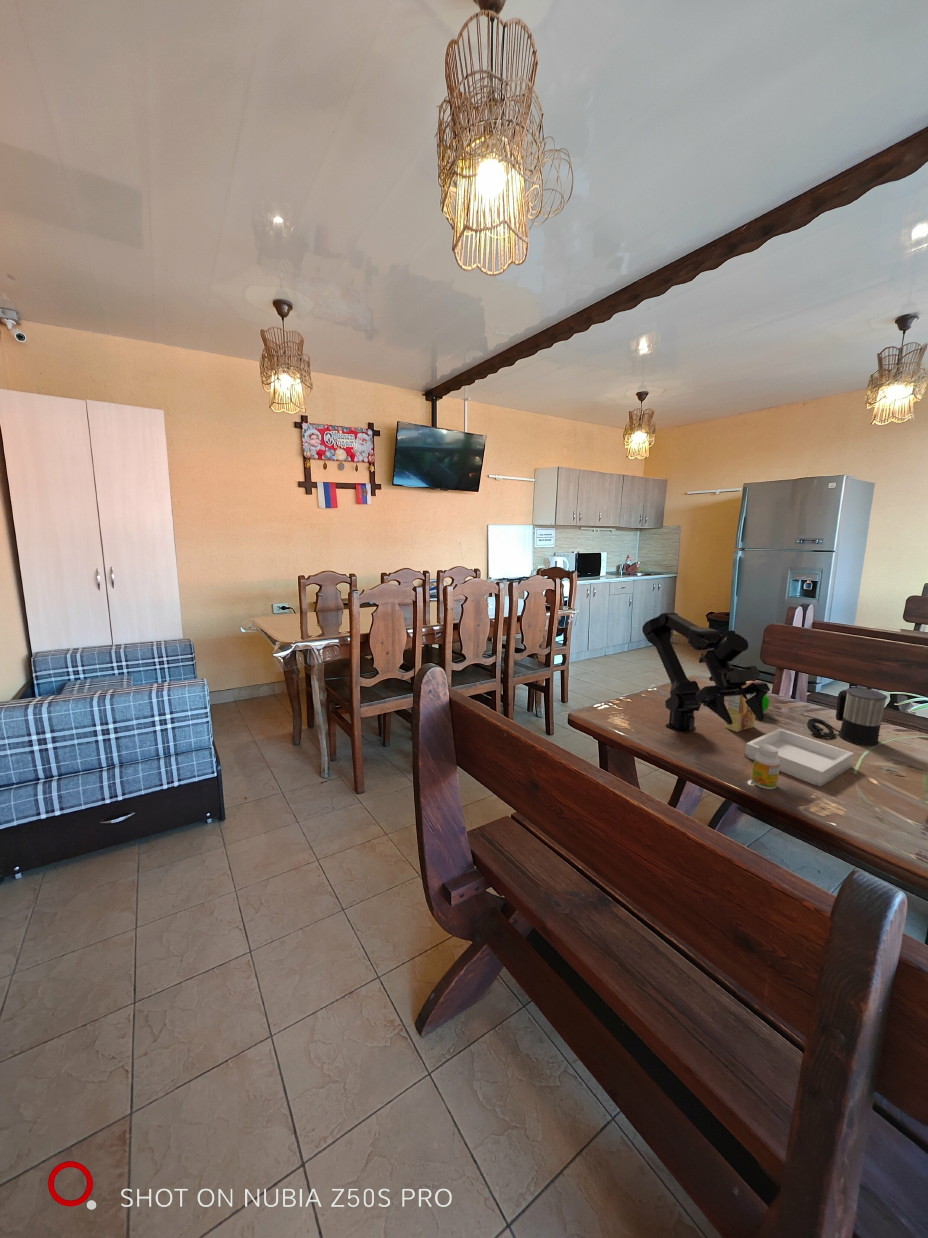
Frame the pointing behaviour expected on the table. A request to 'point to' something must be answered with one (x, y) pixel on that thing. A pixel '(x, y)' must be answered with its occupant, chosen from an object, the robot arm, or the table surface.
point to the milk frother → (855, 716)
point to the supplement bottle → (766, 767)
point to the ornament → (765, 702)
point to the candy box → (740, 712)
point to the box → (804, 756)
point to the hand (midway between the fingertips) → (746, 722)
